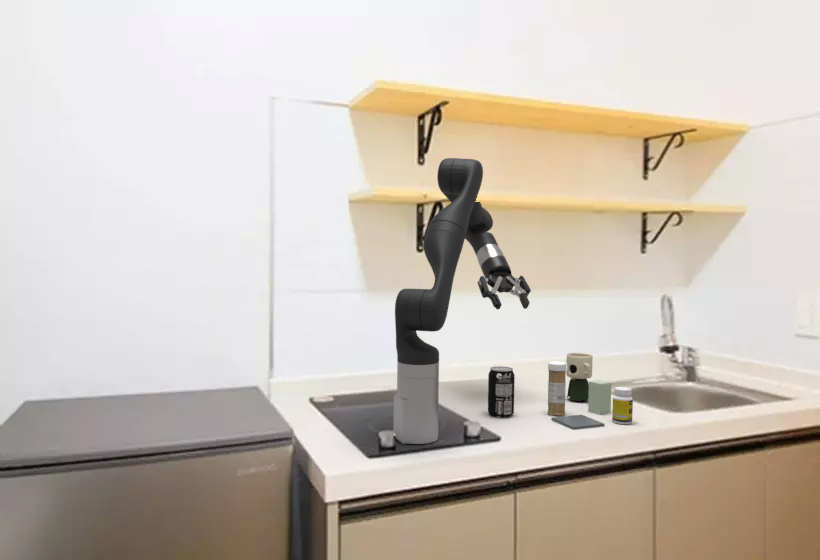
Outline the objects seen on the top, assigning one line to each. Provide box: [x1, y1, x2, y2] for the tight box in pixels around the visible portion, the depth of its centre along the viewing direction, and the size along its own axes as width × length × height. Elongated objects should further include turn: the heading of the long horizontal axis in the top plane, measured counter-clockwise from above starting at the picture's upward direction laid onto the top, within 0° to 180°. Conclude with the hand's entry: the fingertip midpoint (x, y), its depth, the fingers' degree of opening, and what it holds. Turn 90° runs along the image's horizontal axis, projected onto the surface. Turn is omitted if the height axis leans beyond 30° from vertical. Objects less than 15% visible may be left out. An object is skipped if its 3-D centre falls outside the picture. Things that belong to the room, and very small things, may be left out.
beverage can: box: [487, 365, 516, 419], centre depth 164 cm, size 7×7×12 cm
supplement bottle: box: [611, 386, 634, 425], centre depth 158 cm, size 5×5×8 cm
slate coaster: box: [550, 414, 606, 430], centre depth 157 cm, size 9×9×1 cm
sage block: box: [587, 379, 612, 416], centre depth 168 cm, size 4×4×8 cm
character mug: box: [565, 352, 593, 403], centre depth 181 cm, size 11×7×13 cm, turn 14°
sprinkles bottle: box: [547, 360, 567, 417], centre depth 165 cm, size 5×5×14 cm
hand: (513, 307), depth 174 cm, fingers open, 8 cm apart
